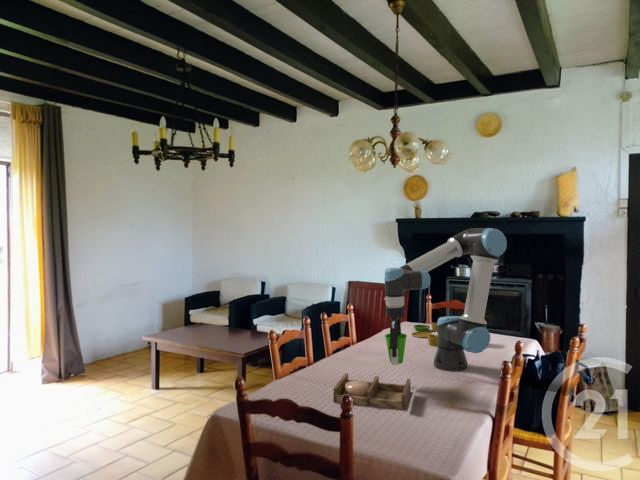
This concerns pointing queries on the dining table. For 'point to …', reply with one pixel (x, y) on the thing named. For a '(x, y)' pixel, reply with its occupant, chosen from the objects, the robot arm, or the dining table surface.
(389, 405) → the rack
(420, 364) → the dining table surface
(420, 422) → the dining table surface
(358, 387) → the egg
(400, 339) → the cup
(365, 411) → the dining table surface
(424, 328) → the tableware set
